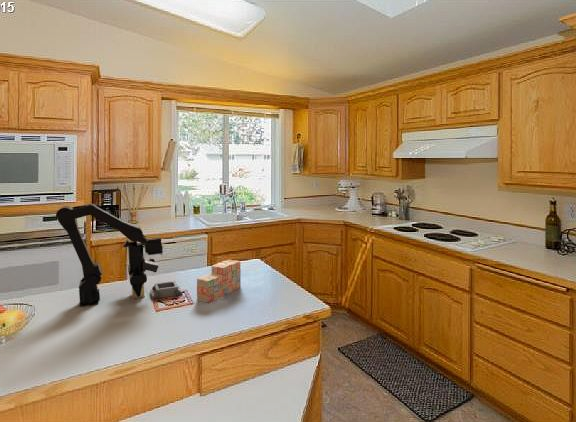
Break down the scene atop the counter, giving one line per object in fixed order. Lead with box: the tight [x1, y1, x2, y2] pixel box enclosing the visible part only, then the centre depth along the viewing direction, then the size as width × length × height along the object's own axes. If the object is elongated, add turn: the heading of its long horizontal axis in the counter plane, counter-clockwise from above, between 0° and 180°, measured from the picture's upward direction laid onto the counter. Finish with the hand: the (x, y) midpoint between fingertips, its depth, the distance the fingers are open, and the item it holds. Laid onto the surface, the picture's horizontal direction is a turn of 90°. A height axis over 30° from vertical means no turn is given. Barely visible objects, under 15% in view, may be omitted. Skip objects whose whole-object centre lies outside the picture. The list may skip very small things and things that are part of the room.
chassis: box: [150, 280, 183, 300], centre depth 155 cm, size 12×10×4 cm
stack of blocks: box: [196, 259, 242, 304], centre depth 155 cm, size 21×6×12 cm, turn 150°
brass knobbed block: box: [131, 283, 145, 299], centre depth 152 cm, size 4×4×7 cm
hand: (138, 292), depth 152 cm, fingers open, 9 cm apart
